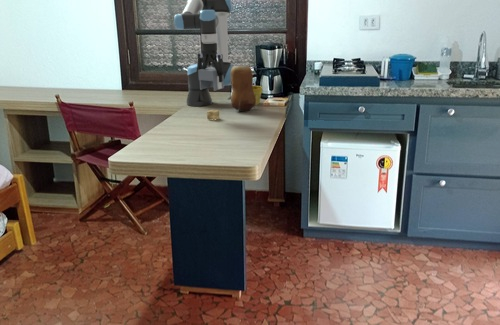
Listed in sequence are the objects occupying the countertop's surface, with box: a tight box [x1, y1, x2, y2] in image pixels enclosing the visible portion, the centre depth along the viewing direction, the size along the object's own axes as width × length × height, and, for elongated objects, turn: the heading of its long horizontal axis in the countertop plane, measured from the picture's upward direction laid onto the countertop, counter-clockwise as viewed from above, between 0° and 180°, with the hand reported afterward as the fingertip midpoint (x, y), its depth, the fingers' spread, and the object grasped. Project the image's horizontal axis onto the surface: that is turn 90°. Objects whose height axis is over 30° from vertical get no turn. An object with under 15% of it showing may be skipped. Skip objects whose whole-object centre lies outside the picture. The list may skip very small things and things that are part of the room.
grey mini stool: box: [198, 67, 225, 92], centre depth 246 cm, size 9×9×10 cm
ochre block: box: [206, 109, 220, 121], centre depth 252 cm, size 4×4×4 cm
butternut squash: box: [230, 64, 256, 112], centre depth 265 cm, size 14×13×25 cm
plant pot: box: [252, 85, 263, 106], centre depth 284 cm, size 10×10×10 cm
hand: (211, 87), depth 247 cm, fingers closed on grey mini stool, 9 cm apart
